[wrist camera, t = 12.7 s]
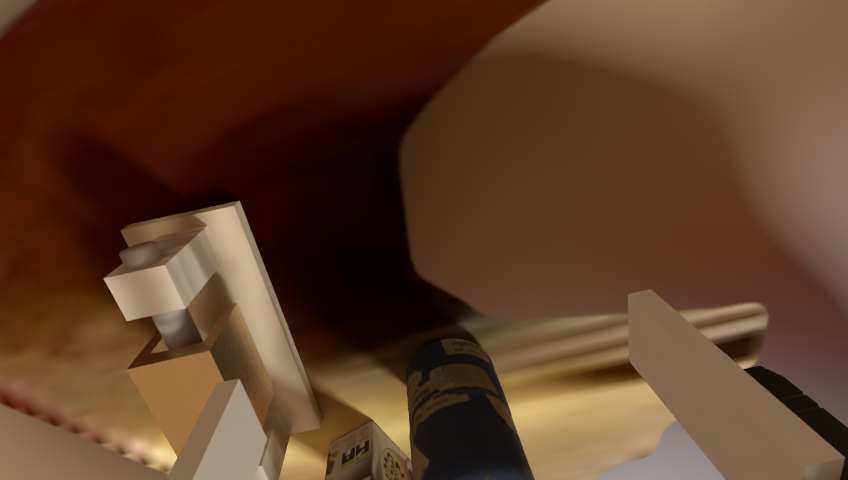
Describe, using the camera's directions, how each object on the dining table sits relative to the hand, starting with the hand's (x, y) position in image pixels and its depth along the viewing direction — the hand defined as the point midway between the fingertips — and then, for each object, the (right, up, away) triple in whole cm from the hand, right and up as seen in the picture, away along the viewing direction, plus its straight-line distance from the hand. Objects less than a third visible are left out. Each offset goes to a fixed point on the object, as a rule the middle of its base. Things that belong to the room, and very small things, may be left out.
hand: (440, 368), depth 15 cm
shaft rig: (-19, -5, +29) cm, 35 cm away
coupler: (-19, -6, +26) cm, 33 cm away
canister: (+2, -10, +33) cm, 35 cm away
